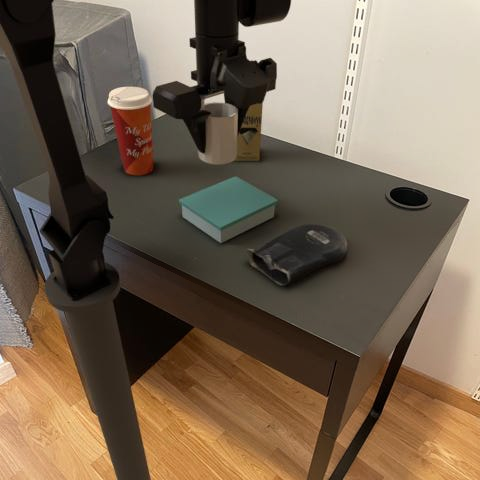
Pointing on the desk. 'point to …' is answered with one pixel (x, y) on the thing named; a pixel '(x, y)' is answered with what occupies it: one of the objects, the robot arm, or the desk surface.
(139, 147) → the paper cup
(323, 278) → the desk surface
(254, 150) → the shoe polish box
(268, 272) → the black pouch
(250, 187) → the teal flat box
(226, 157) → the beige cup
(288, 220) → the desk surface
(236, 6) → the robot arm
